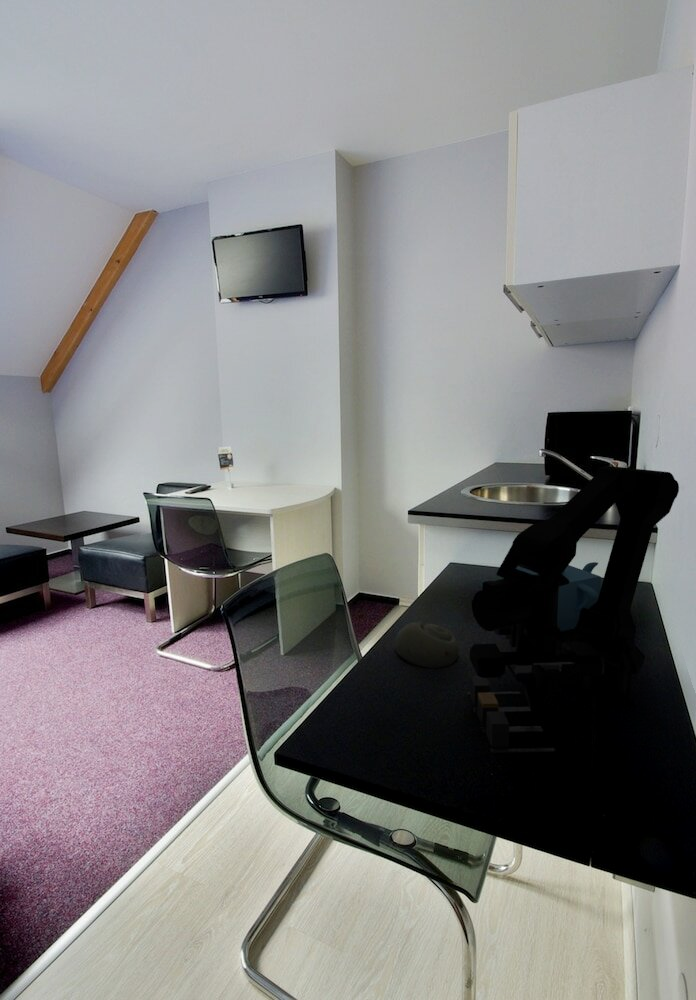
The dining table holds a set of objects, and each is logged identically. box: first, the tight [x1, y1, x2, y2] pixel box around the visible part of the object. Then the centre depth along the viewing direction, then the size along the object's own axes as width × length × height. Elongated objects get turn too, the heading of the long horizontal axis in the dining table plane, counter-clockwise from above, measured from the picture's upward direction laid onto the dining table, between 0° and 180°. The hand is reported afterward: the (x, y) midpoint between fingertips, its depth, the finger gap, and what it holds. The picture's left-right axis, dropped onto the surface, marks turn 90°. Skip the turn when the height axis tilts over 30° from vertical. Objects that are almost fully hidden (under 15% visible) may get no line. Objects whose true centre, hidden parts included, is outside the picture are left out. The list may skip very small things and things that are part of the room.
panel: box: [466, 691, 556, 754], centre depth 78 cm, size 18×16×1 cm
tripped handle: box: [476, 691, 500, 727], centre depth 77 cm, size 2×3×4 cm
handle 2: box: [485, 711, 510, 749], centre depth 72 cm, size 2×3×4 cm
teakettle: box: [515, 561, 602, 633], centre depth 114 cm, size 19×19×15 cm
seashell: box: [394, 621, 460, 669], centre depth 98 cm, size 13×8×10 cm
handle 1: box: [469, 675, 491, 708], centre depth 82 cm, size 2×3×4 cm
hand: (532, 709), depth 78 cm, fingers closed
